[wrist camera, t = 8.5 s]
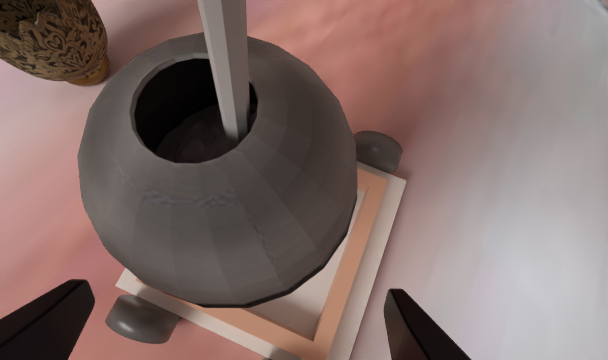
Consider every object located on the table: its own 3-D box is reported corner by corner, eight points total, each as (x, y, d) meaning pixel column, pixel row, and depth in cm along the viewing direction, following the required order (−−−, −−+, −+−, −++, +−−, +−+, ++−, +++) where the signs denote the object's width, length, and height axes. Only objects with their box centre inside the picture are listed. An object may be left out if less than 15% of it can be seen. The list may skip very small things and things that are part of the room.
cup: (23, 69, 24) (-104, -28, 16) (103, 20, 25) (22, -88, 18) (75, 129, 22) (-38, 54, 15) (155, 72, 24) (92, -20, 16)
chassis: (407, 170, 22) (428, 151, 19) (329, 407, 17) (338, 440, 14) (229, 99, 23) (219, 70, 20) (111, 303, 19) (71, 310, 15)
